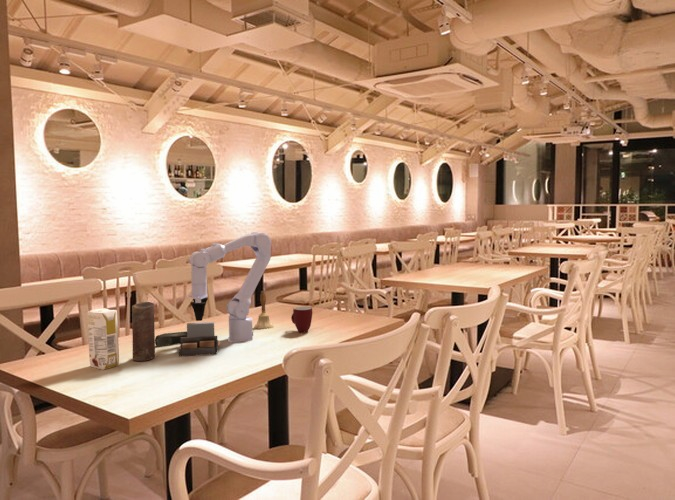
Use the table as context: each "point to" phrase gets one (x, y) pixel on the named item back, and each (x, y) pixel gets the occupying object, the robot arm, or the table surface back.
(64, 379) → the table surface
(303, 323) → the mug
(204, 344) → the offcut
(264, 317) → the hand bell
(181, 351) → the rack
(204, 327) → the grey flat block
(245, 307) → the robot arm
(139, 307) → the candle
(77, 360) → the table surface
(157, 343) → the mobile phone
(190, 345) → the offcut
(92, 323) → the juice carton
